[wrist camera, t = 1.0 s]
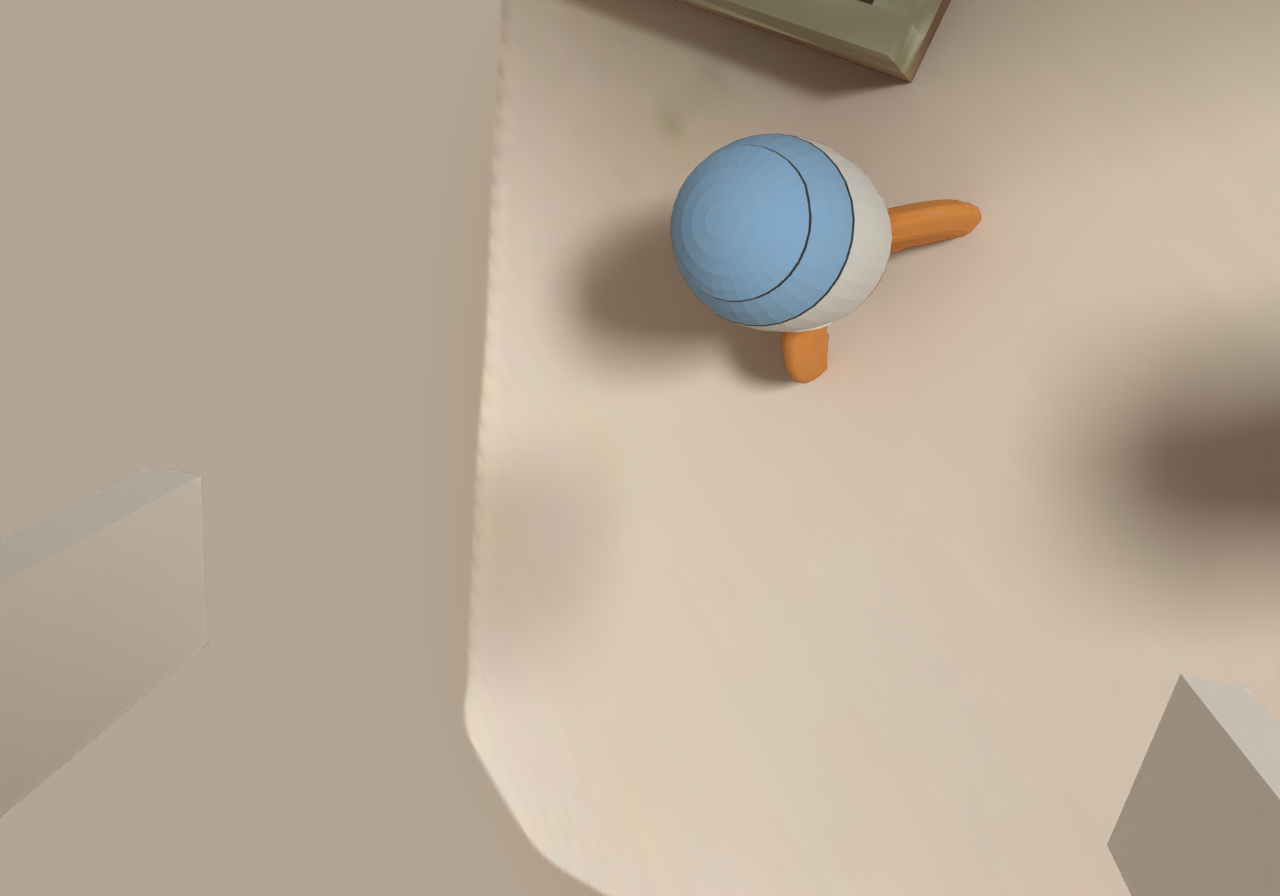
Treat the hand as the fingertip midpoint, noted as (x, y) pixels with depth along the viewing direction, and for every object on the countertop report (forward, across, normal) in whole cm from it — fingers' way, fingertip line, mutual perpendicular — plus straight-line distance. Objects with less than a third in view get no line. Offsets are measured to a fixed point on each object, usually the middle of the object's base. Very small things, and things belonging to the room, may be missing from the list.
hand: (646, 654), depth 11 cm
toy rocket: (+31, +4, +4) cm, 31 cm away
